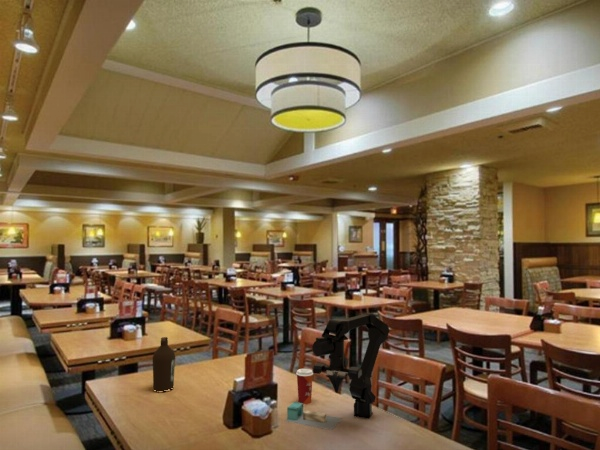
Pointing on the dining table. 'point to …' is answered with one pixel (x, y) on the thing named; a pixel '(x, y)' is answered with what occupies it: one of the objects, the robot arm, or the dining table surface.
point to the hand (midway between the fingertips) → (337, 392)
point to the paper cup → (304, 385)
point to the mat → (328, 424)
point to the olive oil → (163, 367)
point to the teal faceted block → (294, 410)
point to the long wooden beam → (314, 416)
